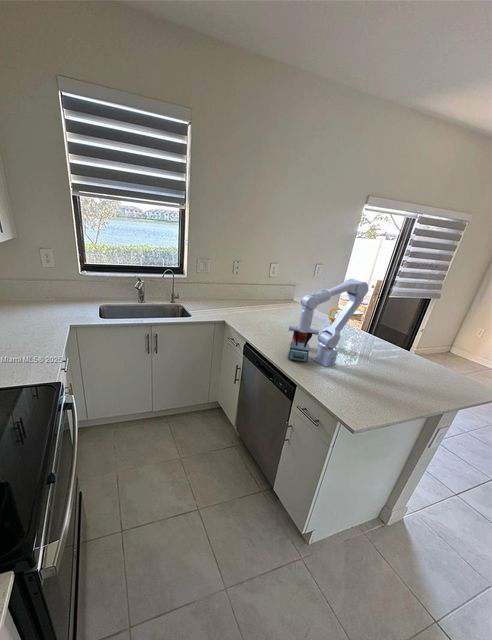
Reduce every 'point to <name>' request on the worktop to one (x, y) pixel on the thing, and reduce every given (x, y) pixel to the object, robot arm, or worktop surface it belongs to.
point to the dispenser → (299, 348)
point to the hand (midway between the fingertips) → (300, 346)
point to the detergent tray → (298, 355)
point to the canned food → (300, 337)
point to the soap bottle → (332, 318)
